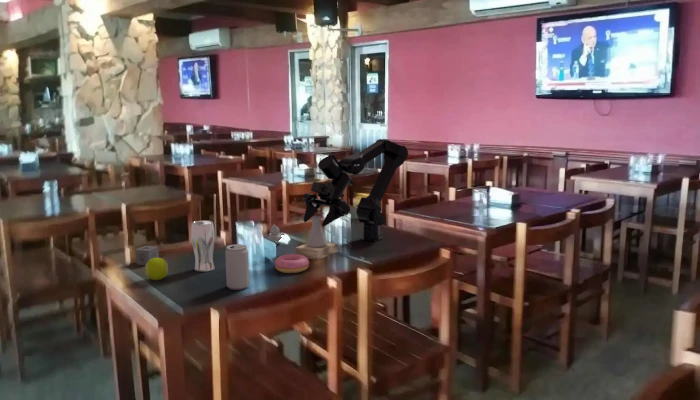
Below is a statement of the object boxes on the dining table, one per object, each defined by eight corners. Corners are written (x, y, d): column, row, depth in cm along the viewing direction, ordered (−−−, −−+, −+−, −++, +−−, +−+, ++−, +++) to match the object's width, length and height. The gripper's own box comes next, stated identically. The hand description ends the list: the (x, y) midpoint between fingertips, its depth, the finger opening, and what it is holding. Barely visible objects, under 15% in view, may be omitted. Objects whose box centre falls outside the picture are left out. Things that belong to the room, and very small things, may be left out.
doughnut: (316, 269, 186) (316, 257, 185) (287, 277, 179) (287, 263, 178) (295, 262, 194) (295, 250, 193) (267, 269, 187) (267, 256, 186)
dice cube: (146, 260, 197) (145, 245, 196) (159, 261, 195) (158, 246, 194) (136, 264, 192) (135, 249, 191) (149, 265, 190) (148, 250, 189)
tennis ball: (145, 277, 178) (143, 256, 177) (168, 275, 180) (166, 254, 179) (146, 284, 172) (144, 262, 171) (170, 281, 174) (168, 259, 173)
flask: (331, 244, 204) (331, 216, 202) (318, 249, 198) (318, 219, 196) (314, 241, 208) (314, 213, 206) (301, 246, 202) (301, 217, 200)
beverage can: (228, 283, 172) (226, 243, 170) (250, 283, 173) (248, 243, 170) (225, 291, 166) (223, 249, 164) (248, 290, 166) (247, 249, 164)
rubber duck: (264, 243, 217) (264, 222, 215) (280, 241, 221) (280, 220, 219) (272, 246, 212) (271, 225, 211) (288, 244, 216) (287, 222, 215)
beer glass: (220, 267, 188) (218, 220, 186) (208, 273, 182) (205, 225, 179) (201, 265, 191) (198, 219, 188) (188, 271, 184) (186, 224, 182)
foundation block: (316, 248, 210) (316, 240, 210) (337, 251, 206) (337, 243, 205) (295, 256, 200) (295, 247, 200) (317, 260, 196) (317, 251, 195)
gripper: (306, 170, 207) (282, 205, 201) (343, 175, 194) (319, 213, 189) (322, 189, 214) (300, 224, 208) (360, 196, 201) (337, 233, 196)
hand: (313, 223), depth 200 cm, fingers open, 9 cm apart
